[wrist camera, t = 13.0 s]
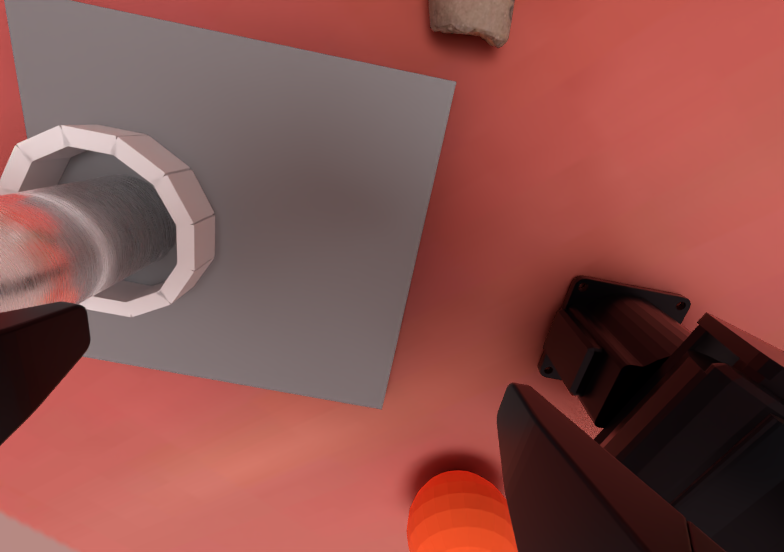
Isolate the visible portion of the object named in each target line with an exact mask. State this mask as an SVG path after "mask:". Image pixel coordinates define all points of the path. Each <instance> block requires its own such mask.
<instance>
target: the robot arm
mask: <svg viewBox="0 0 784 552" xmlns="http://www.w3.org/2000/svg"><path fill="white" fill-rule="evenodd" d="M582 283H585V286H584V287H583V288H579V285H580V284H582ZM679 302H681V304H680V305H679V306H677V307H676V305H677V304H678V303H679ZM690 305H691V303H690V301H689V299H687V298H686V297H684V296H682V295H679V294H674V293H669V292H664V291H659V290H654V289H648V288H643V287H638V286H633V285H628V284H623V283H618V282H612V281H607V280H602V279H597V278H592V277H587V276H579V277H576V278H575V279H574V280H573V281H572V283H571V285H570V288H569V290H568V293H567V295H566V298H565V300H564V303H563V305H562V308H561V309H560V310H559V311H557V313H556V315H555V318H554V320H553V323H552V325H551V328H550V330H549V333H548V335H547V338H546V340H545V343H544V345H543V349H544V352H543V355H542V357H541V360H540V362H539V364H538V369H539V371H540V373H541V375H542V376H544V377H548V378H553V379H559V380H563V382H564V384H565V385H566V387H567V389H568V390H569V392H570V393H571V395H574V396H577V397H578V398H579V400H580V401H581V403H582V405H583V406H584V408H585V409H586V411H587V413H588V414H589V416H590V417H591V419H592V421H593V422H594V424H595V426H597V427H600V428H604V429H603V430H602V431H601V432H600V433H599V434H598V435H597V437H596V438H595V439H594V440H593V439H592V438H591V437H590V436H589V435H587V434H586V433H585V432H584V431H583V430H582V429H580V428H579V427H578V426H577V425H576V424H574V423H573V422H572V421H571V420H570V419H569V418H567V417H566V416H565V415H564V414H563V413H561V412H560V411H559V410H558V409H557V408H556V407H554V406H553V405H552V404H551V403H550V402H548V401H547V400H546V399H545V398H544V397H543V396H541V395H540V394H539V393H538V392H537V391H535V390H534V389H533V388H532V387H531V386H529V385H524V384H518V383H511V384H509V385H508V387H507V389H506V392H505V394H504V397H503V400H502V402H501V405H500V408H499V410H498V414H497V429H498V438H499V447H500V456H501V465H502V473H503V482H504V489H505V495H506V500H507V505H508V509H509V514H510V518H511V523H512V527H513V532H514V536H515V541H516V545H517V550H518V552H784V351H782V350H780V349H778V348H776V347H774V346H772V345H770V344H768V343H766V342H764V341H762V340H760V339H758V338H756V337H754V336H752V335H750V334H748V333H746V332H745V331H743V330H741V329H739V328H737V327H735V326H733V325H731V324H729V323H727V322H725V321H723V320H721V319H719V318H717V317H715V316H713V315H711V314H709V313H707V312H706V313H705V314H704V315H703V317H702V318H701V319H700V320H699V321H698V322H697V323H698V324H699V325H698V327H697V328H696V329H695V330H694V331H693V332H690V331H689V330H687V329H686V328H685V327H683V326H682V325H681V323H682V321H683V319H684V317H685V315H686V313H687V312H688V310H689V308H690ZM90 341H91V337H90V329H89V322H88V314H87V310H86V309H85V307H84V306H82V305H80V304H74V303H69V302H54V303H49V304H43V305H38V306H33V307H28V308H22V309H17V310H12V311H6V312H1V313H0V445H1V444H2V443H3V442H5V441H6V440H7V439H8V438H9V437H10V436H11V435H12V434H13V433H14V432H15V431H16V430H17V429H18V428H19V427H20V426H21V425H22V424H23V423H24V422H25V421H26V420H27V419H28V418H29V417H30V416H31V415H32V414H33V413H34V411H35V410H36V409H37V408H38V407H39V406H40V405H41V404H42V403H43V401H44V400H45V399H46V398H47V397H48V396H49V394H50V393H51V392H52V391H53V390H54V389H55V387H56V386H57V385H58V384H59V383H60V382H61V380H62V379H63V378H64V377H65V376H66V375H67V373H68V372H69V371H70V370H71V369H72V368H73V366H74V365H75V364H76V363H77V362H78V361H79V359H80V358H81V357H82V356H83V355H84V354H85V352H86V351H87V349H88V348H89V345H90ZM547 367H550V368H549V369H548V370H544V369H545V368H547Z"/></svg>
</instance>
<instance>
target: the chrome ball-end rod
mask: <svg viewBox="0 0 784 552" xmlns="http://www.w3.org/2000/svg"><path fill="white" fill-rule="evenodd" d="M175 239H176V224H175V222H174V221H173V219H172V217H171V215H170V213H169V212H168V210H167V208H166V206H165V205H164V203H163V201H162V199H161V198H160V196H159V194H158V192H157V191H156V189H155V188H153V187H152V186H151V185H149V184H148V183H146V182H144V181H142V180H140V179H138V178H135V177H132V176H127V175H111V176H105V177H100V178H94V179H89V180H83V181H78V182H72V183H67V184H61V185H56V186H50V187H44V188H39V189H33V190H28V191H22V192H17V193H11V194H6V195H0V313H1V312H6V311H12V310H17V309H22V308H28V307H33V306H38V305H43V304H49V303H54V302H69V303H74V304H80V303H81V302H83V301H85V300H87V299H89V298H90V297H92V296H94V295H96V294H98V293H99V292H101V291H103V290H105V289H107V288H108V287H110V286H112V285H114V284H116V283H117V282H119V281H121V280H123V279H125V278H127V277H128V276H130V275H132V274H134V273H136V272H137V271H139V270H141V269H143V268H145V267H146V266H148V265H150V264H152V263H154V262H155V261H157V260H159V259H161V258H163V257H164V256H165V255H166V254H167V253H168V252H169V251H170V250H171V248H172V247H173V245H174V242H175Z"/></svg>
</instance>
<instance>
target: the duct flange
mask: <svg viewBox="0 0 784 552" xmlns="http://www.w3.org/2000/svg"><path fill="white" fill-rule="evenodd" d="M4 2H5V8H6V14H7V20H8V26H9V32H10V38H11V44H12V50H13V56H14V62H15V68H16V74H17V80H18V86H19V92H20V98H21V104H22V110H23V116H24V122H25V128H26V134H27V139H26V140H24V141H22V142H20V143H17V145H15V147H14V149H13V151H12V153H11V156H10V158H9V160H8V163H7V165H6V167H5V170H4V172H3V174H2V176H1V179H0V195H6V194H11V193H17V192H22V191H28V190H33V189H39V188H44V187H50V186H56V185H61V184H67V183H72V182H78V181H83V180H89V179H94V178H100V177H105V176H111V175H127V176H132V177H135V178H138V179H140V180H142V181H144V182H146V183H148V184H149V185H151V186H152V187H153V188H155V189H156V191H157V192H158V194H159V196H160V198H161V199H162V201H163V203H164V205H165V206H166V208H167V210H168V212H169V213H170V215H171V217H172V219H173V221H174V222H175V224H176V239H175V242H174V245H173V247H172V248H171V250H170V251H169V252H168V253H167V254H166V255H165V256H164V257H163V258H161V259H159V260H157V261H155V262H154V263H152V264H150V265H148V266H146V267H145V268H143V269H141V270H139V271H137V272H136V273H134V274H132V275H130V276H128V277H127V278H125V279H123V280H121V281H119V282H117V283H116V284H114V285H112V286H110V287H108V288H107V289H105V290H103V291H101V292H99V293H98V294H96V295H94V296H92V297H90V298H89V299H87V300H85V301H83V302H81V303H80V305H82V306H84V307H85V309H86V310H87V314H88V322H89V329H90V337H91V341H90V345H89V348H88V349H87V351H86V352H85V354H84V355H83V356H82V357H88V358H94V359H99V360H105V361H111V362H116V363H122V364H128V365H133V366H139V367H145V368H150V369H156V370H162V371H167V372H173V373H178V374H184V375H190V376H195V377H201V378H207V379H212V380H218V381H224V382H229V383H235V384H241V385H246V386H252V387H258V388H263V389H269V390H275V391H280V392H286V393H292V394H297V395H303V396H309V397H314V398H320V399H325V400H331V401H337V402H342V403H348V404H354V405H359V406H365V407H371V408H376V409H382V406H383V402H384V398H385V393H386V389H387V384H388V380H389V376H390V371H391V367H392V362H393V358H394V354H395V349H396V345H397V340H398V336H399V332H400V327H401V323H402V319H403V314H404V310H405V305H406V301H407V297H408V292H409V288H410V283H411V279H412V275H413V270H414V266H415V261H416V257H417V253H418V248H419V244H420V240H421V235H422V231H423V226H424V222H425V218H426V213H427V209H428V204H429V200H430V196H431V191H432V187H433V182H434V178H435V174H436V169H437V165H438V161H439V156H440V152H441V147H442V143H443V139H444V134H445V130H446V125H447V121H448V117H449V112H450V108H451V103H452V99H453V95H454V90H455V86H456V82H455V81H450V80H445V79H441V78H436V77H431V76H426V75H422V74H417V73H412V72H407V71H403V70H398V69H393V68H388V67H384V66H379V65H374V64H369V63H365V62H360V61H355V60H350V59H346V58H341V57H336V56H331V55H327V54H322V53H317V52H313V51H308V50H303V49H298V48H294V47H289V46H284V45H279V44H275V43H270V42H265V41H260V40H256V39H251V38H246V37H241V36H237V35H232V34H227V33H222V32H218V31H213V30H208V29H203V28H199V27H194V26H189V25H184V24H180V23H175V22H170V21H165V20H161V19H156V18H151V17H146V16H142V15H137V14H132V13H127V12H123V11H118V10H113V9H109V8H104V7H99V6H94V5H90V4H85V3H80V2H75V1H71V0H4Z"/></svg>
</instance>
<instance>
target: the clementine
mask: <svg viewBox="0 0 784 552" xmlns="http://www.w3.org/2000/svg"><path fill="white" fill-rule="evenodd" d="M407 538H408V546H409V550H410V552H518V550H517V545H516V541H515V536H514V532H513V527H512V523H511V518H510V514H509V509H508V505H507V500H506V499H505V497H504V496H503V495H502V494H501V492H500V491H499V490H498V489H497V488H496V487H495V486H494V485H493V484H492V483H491V482H489V481H487V480H486V479H484V478H482V477H481V476H479V475H477V474H475V473H472V472H468V471H460V470H455V471H447V472H444V473H440V474H438V475H436V476H434V477H433V478H431V479H430V480H429V481H428V482H427V483H426V484H425V485H424V486H423V487H422V488H421V489H420V490H419V491H418V493H417V495H416V497H415V499H414V501H413V503H412V505H411V507H410V511H409V518H408V525H407Z"/></svg>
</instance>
